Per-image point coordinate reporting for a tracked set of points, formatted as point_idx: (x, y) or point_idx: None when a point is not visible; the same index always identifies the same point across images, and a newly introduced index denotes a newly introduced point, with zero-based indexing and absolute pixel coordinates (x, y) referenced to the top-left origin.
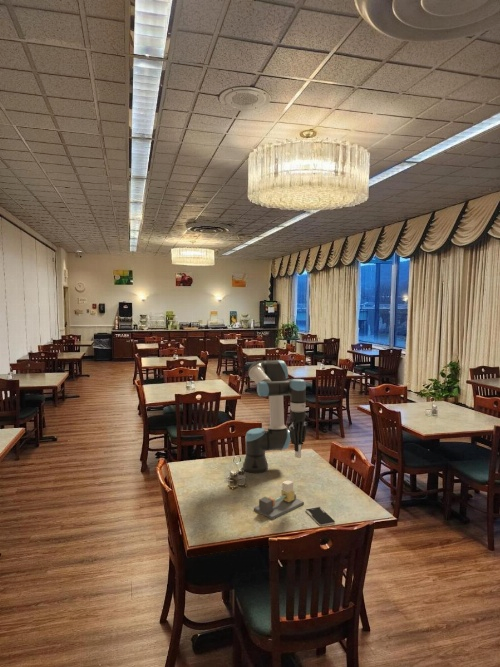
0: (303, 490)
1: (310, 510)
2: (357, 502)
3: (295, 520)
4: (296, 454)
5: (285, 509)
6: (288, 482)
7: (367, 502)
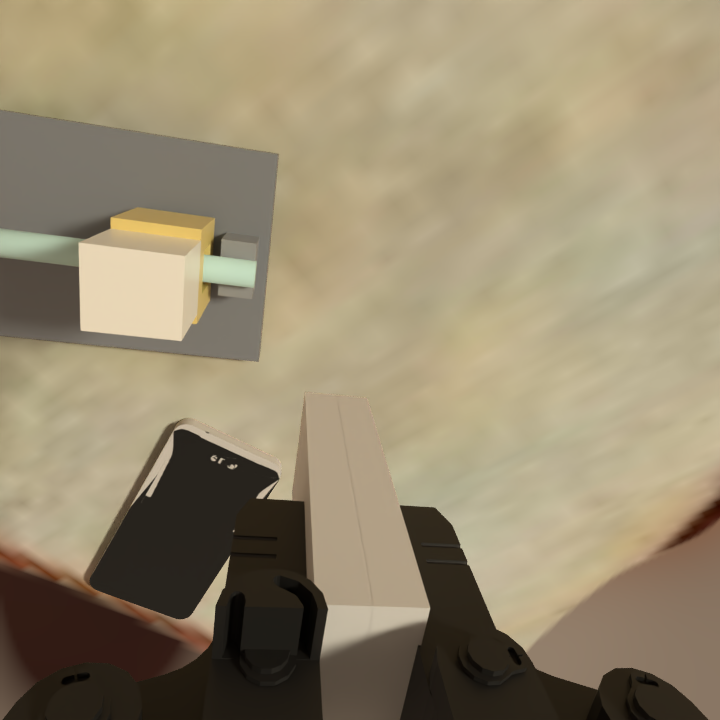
0: (473, 215)
1: (189, 458)
2: (508, 577)
3: (16, 443)
4: (299, 460)
5: (42, 328)
6: (134, 303)
7: (539, 612)
